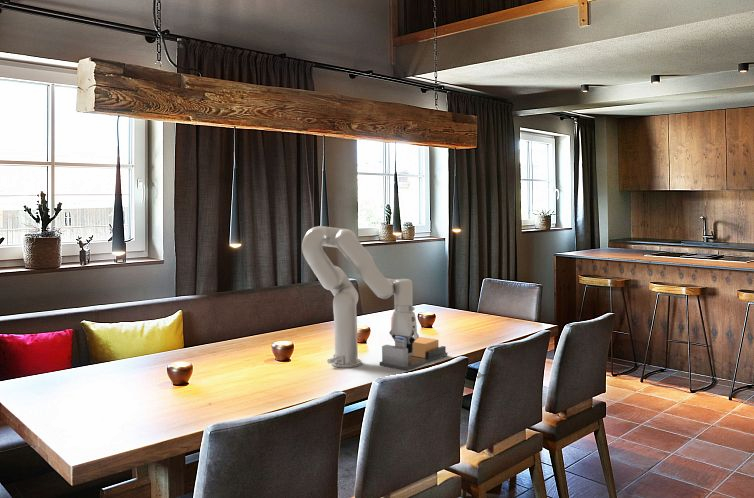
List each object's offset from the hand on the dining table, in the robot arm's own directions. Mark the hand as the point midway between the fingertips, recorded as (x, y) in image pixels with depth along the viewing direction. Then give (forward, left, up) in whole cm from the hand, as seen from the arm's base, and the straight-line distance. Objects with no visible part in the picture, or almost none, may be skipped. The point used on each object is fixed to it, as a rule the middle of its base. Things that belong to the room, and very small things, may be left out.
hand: (404, 351), depth 268 cm
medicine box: (0, 0, -2) cm, 2 cm away
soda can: (+38, +32, -6) cm, 50 cm away
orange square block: (+13, 0, -4) cm, 14 cm away
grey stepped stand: (+7, 0, -5) cm, 9 cm away
